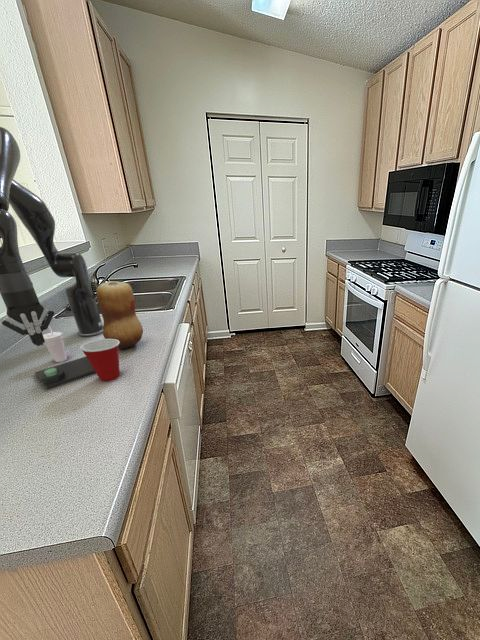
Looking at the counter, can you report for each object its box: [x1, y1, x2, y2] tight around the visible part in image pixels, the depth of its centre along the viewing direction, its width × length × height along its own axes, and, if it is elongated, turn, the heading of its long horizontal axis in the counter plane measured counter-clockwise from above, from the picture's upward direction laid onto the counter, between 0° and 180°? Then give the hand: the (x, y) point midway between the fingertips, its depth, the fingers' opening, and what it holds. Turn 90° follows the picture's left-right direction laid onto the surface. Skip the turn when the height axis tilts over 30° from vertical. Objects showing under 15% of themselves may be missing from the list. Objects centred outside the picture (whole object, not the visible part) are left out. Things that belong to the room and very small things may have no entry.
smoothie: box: [42, 323, 68, 363], centre depth 117 cm, size 6×6×14 cm
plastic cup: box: [79, 338, 121, 382], centre depth 105 cm, size 11×11×12 cm
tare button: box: [44, 368, 58, 377], centre depth 104 cm, size 3×3×2 cm
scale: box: [34, 356, 96, 391], centre depth 110 cm, size 14×16×3 cm
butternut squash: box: [96, 280, 144, 350], centre depth 124 cm, size 14×13×25 cm
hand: (39, 344), depth 100 cm, fingers closed
